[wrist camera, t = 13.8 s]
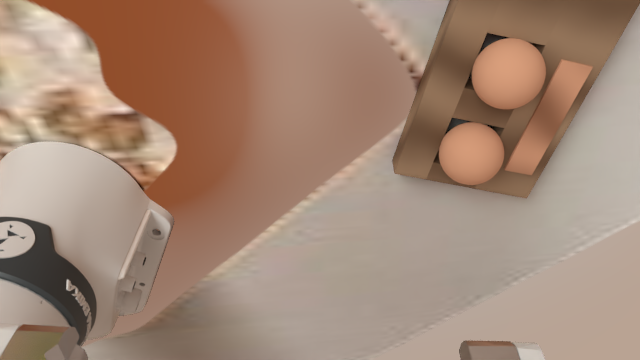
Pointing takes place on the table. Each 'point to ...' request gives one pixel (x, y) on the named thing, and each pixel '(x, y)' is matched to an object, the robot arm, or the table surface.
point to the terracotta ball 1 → (471, 153)
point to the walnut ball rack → (519, 123)
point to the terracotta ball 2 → (508, 73)
